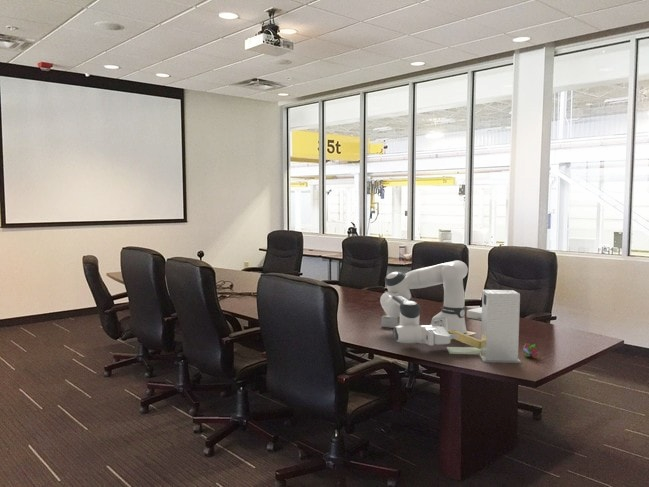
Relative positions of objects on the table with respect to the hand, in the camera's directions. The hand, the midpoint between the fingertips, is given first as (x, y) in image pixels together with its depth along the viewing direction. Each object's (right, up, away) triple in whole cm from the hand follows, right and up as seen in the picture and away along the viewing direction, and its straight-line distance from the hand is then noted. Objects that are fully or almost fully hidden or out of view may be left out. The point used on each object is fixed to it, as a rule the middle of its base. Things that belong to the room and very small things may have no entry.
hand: (457, 334), depth 250 cm
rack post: (+16, -9, -10) cm, 21 cm away
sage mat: (+7, -8, +1) cm, 11 cm away
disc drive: (+40, -3, +78) cm, 87 cm away
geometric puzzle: (+32, -9, -8) cm, 34 cm away
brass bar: (+5, -4, 0) cm, 6 cm away
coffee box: (-27, -1, +48) cm, 55 cm away
